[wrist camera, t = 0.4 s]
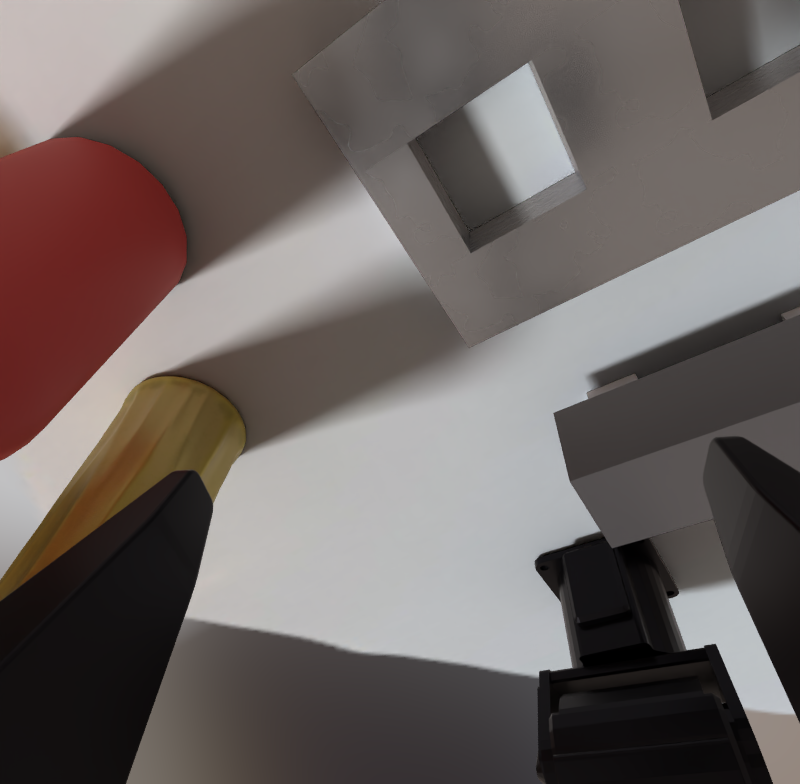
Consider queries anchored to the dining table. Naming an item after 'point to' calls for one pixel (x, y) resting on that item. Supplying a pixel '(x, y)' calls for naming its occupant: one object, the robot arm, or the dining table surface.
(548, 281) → the mount plate
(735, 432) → the grey rectangular block
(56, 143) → the beer can
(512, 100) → the dining table surface
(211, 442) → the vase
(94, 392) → the dining table surface
